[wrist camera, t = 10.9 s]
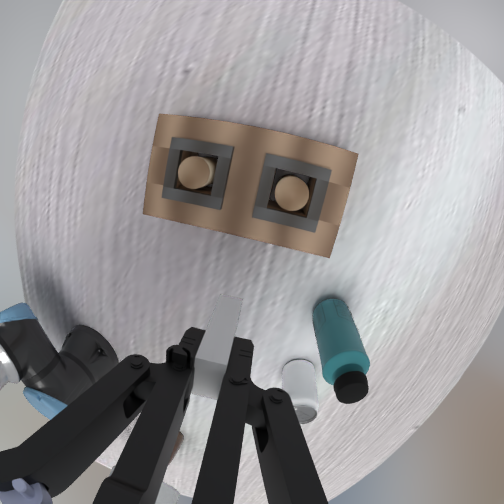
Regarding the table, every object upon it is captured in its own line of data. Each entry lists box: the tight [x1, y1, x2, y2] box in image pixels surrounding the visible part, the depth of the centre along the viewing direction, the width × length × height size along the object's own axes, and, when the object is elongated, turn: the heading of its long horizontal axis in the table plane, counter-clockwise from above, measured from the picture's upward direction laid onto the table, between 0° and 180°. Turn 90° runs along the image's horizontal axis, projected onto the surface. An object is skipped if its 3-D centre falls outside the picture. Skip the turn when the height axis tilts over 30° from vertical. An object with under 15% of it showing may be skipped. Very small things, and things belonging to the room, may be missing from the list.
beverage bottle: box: [312, 299, 370, 404], centre depth 35 cm, size 6×7×20 cm
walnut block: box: [143, 114, 358, 258], centre depth 36 cm, size 26×14×8 cm, turn 78°
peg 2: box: [275, 174, 309, 211], centre depth 35 cm, size 4×4×8 cm
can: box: [282, 360, 319, 424], centre depth 44 cm, size 6×6×12 cm
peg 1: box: [178, 156, 218, 189], centre depth 35 cm, size 4×4×8 cm
